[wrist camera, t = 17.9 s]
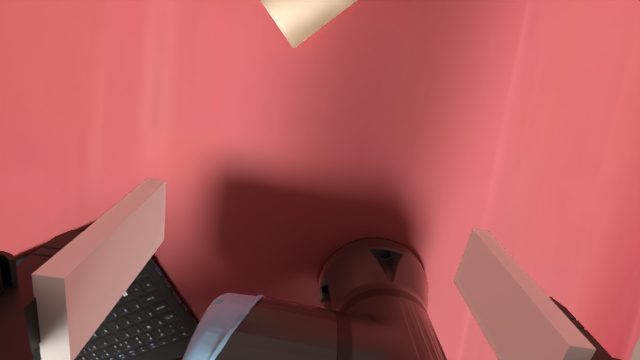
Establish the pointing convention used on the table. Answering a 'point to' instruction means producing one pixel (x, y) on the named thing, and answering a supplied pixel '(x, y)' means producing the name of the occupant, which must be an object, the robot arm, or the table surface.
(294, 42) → the hole block
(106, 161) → the table surface
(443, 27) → the table surface
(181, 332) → the laptop
